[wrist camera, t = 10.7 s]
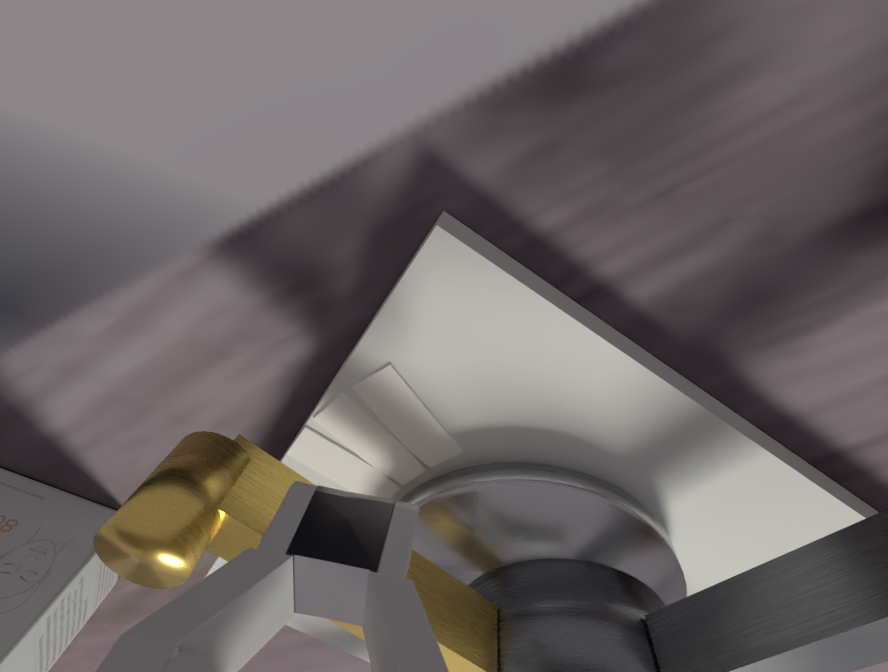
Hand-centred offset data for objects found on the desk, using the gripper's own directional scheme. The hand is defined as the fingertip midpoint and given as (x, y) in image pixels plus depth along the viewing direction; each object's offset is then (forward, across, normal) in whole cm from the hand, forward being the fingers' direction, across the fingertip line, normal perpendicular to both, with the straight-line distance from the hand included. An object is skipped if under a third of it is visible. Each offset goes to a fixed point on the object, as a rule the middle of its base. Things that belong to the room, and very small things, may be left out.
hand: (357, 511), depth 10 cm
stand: (+5, -6, +7) cm, 10 cm away
